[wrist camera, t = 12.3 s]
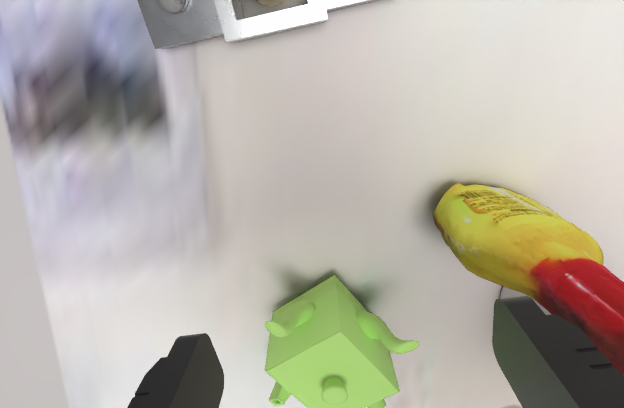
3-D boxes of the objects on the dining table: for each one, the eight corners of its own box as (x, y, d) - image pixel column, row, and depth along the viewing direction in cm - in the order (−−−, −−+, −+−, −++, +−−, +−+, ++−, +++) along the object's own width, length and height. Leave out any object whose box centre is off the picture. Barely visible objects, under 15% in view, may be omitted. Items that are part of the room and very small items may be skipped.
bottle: (547, 185, 35) (802, 338, 17) (522, 237, 37) (718, 418, 19) (435, 169, 34) (575, 313, 16) (417, 224, 37) (521, 399, 19)
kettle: (275, 257, 39) (263, 333, 28) (396, 267, 39) (427, 345, 29) (268, 350, 45) (256, 439, 35) (373, 357, 46) (391, 447, 36)
